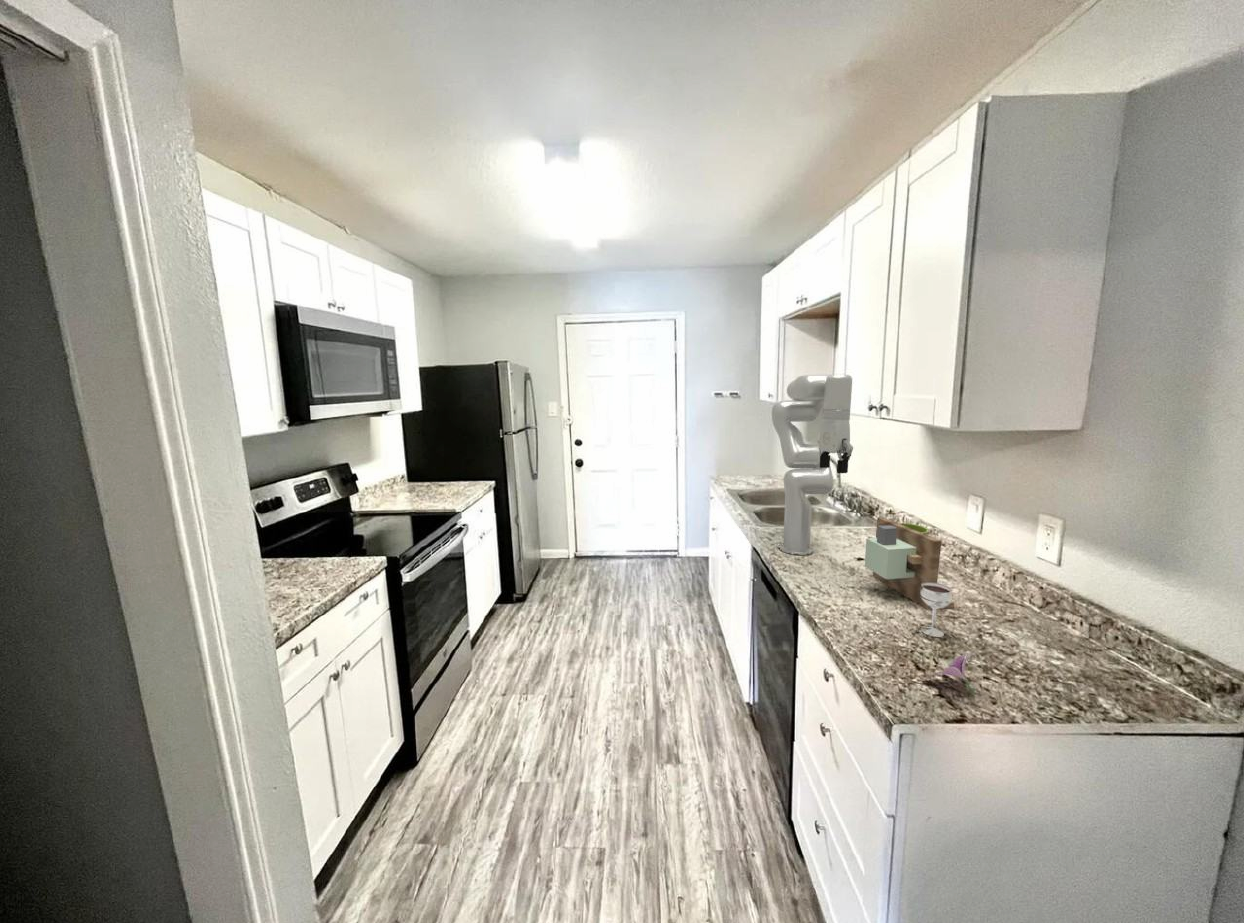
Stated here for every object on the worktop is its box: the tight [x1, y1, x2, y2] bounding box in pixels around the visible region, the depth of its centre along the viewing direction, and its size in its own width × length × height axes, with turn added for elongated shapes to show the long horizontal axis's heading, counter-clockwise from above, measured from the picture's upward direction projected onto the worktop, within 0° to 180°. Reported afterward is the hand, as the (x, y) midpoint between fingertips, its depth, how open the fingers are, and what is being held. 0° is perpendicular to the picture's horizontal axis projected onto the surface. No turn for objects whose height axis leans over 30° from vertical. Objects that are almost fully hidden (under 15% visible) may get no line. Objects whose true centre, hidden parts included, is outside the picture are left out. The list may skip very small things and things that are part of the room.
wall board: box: [872, 516, 955, 610], centre depth 142 cm, size 24×10×20 cm, turn 7°
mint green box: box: [864, 525, 917, 579], centre depth 139 cm, size 10×9×14 cm
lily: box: [923, 649, 981, 698], centre depth 97 cm, size 12×12×10 cm
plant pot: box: [897, 522, 929, 535], centre depth 170 cm, size 12×12×11 cm
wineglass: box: [920, 582, 953, 638], centre depth 118 cm, size 7×7×12 cm
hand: (833, 470), depth 146 cm, fingers open, 9 cm apart
